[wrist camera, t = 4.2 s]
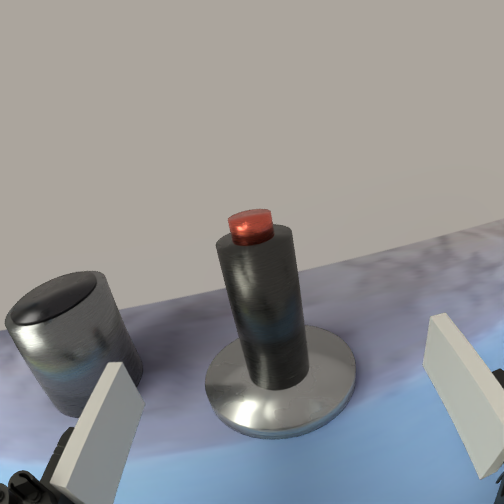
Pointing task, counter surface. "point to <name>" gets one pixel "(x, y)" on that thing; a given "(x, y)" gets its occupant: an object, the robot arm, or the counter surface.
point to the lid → (273, 340)
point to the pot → (72, 337)
